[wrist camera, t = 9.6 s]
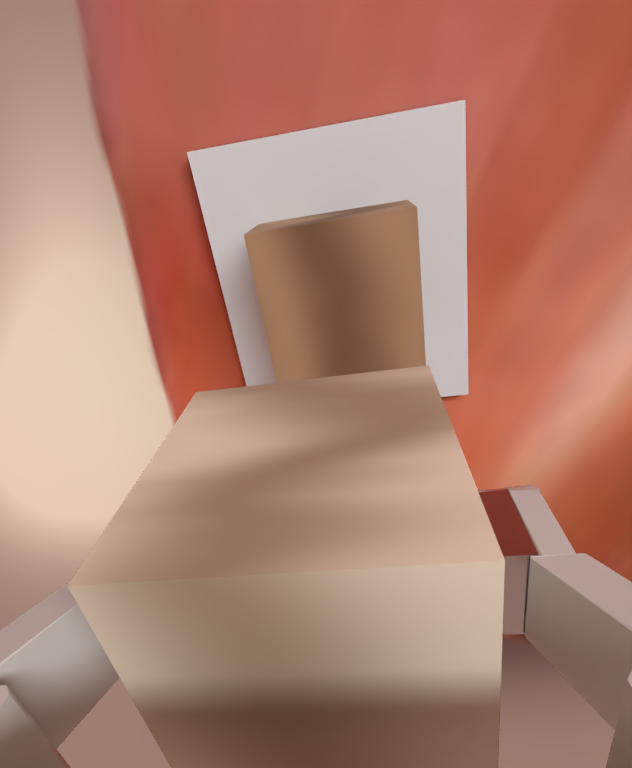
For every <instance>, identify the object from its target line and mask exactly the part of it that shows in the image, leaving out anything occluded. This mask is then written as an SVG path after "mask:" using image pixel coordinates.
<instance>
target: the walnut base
mask: <svg viewBox="0 0 632 768" xmlns="http://www.w3.org/2000/svg"><path fill="white" fill-rule="evenodd" d="M244 239H245V243H246V248H247V252H248V257H249V261H250V266H251V270H252V275H253V279H254V284H255V288H256V293H257V297H258V302H259V306H260V311H261V315H262V320H263V324H264V329H265V334H266V338H267V343H268V347H269V352H270V356H271V361H272V365H273V370H274V374H275V379H276V383H281V382H289V381H298V380H306V379H315V378H324V377H332V376H341V375H349V374H358V373H367V372H375V371H384V370H393V369H401V368H410V367H418V366H426V356H425V338H424V321H423V303H422V285H421V267H420V249H419V231H418V213H417V207H416V206H415V205H414V204H412V203H411V202H410V201H408V200H402V201H396V202H390V203H384V204H377V205H371V206H365V207H359V208H353V209H347V210H341V211H334V212H328V213H322V214H316V215H310V216H304V217H298V218H291V219H285V220H279V221H273V222H267V223H261V224H258V225H257V226H255V227H254V228H253V229H251V230H250V231H248V232H247V233H246V234H244Z"/></svg>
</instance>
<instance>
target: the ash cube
mask: <svg viewBox="0 0 632 768" xmlns="http://www.w3.org/2000/svg"><path fill="white" fill-rule="evenodd" d="M504 574H505V559H504V556H503V554H502V551H501V549H500V546H499V544H498V541H497V539H496V536H495V533H494V531H493V528H492V526H491V523H490V521H489V518H488V516H487V513H486V510H485V508H484V505H483V503H482V500H481V498H480V495H479V493H478V490H477V487H476V485H475V482H474V480H473V477H472V475H471V472H470V470H469V467H468V464H467V462H466V459H465V457H464V454H463V452H462V449H461V447H460V444H459V441H458V439H457V436H456V434H455V431H454V429H453V426H452V424H451V421H450V418H449V416H448V413H447V411H446V408H445V406H444V403H443V401H442V398H441V395H440V393H439V390H438V388H437V385H436V383H435V380H434V378H433V375H432V372H431V370H430V367H429V365H427V366H418V367H410V368H401V369H393V370H384V371H375V372H367V373H358V374H349V375H341V376H332V377H324V378H315V379H306V380H298V381H289V382H281V383H272V384H263V385H255V386H246V387H237V388H229V389H220V390H212V391H203V392H196V393H195V395H194V396H193V398H192V399H191V401H190V402H189V404H188V405H187V407H186V408H185V410H184V411H183V413H182V414H181V416H180V417H179V419H178V420H177V422H176V423H175V425H174V426H173V428H172V429H171V431H170V432H169V434H168V435H167V437H166V438H165V440H164V441H163V443H162V445H161V446H160V448H159V449H158V451H157V452H156V454H155V455H154V457H153V458H152V460H151V461H150V463H149V464H148V466H147V467H146V469H145V470H144V472H143V473H142V475H141V476H140V478H139V479H138V481H137V482H136V484H135V485H134V487H133V488H132V490H131V491H130V493H129V494H128V496H127V497H126V499H125V500H124V502H123V503H122V505H121V506H120V508H119V509H118V511H117V512H116V514H115V515H114V517H113V519H112V520H111V521H110V523H109V524H108V526H107V527H106V529H105V531H104V532H103V533H102V535H101V536H100V538H99V540H98V541H97V542H96V544H95V545H94V547H93V548H92V550H91V551H90V553H89V554H88V556H87V557H86V559H85V560H84V562H83V564H82V565H81V566H80V568H79V569H78V571H77V572H76V574H75V575H74V577H73V578H72V580H71V582H70V583H69V584H68V588H69V590H70V592H71V593H72V595H73V597H74V599H75V600H76V602H77V604H78V606H79V607H80V609H81V611H82V613H83V614H84V616H85V618H86V620H87V621H88V623H89V625H90V627H91V628H92V630H93V632H94V634H95V635H96V637H97V639H98V641H99V642H100V644H101V646H102V647H103V649H104V651H105V653H106V654H107V656H108V658H109V660H110V661H111V663H112V665H113V667H114V668H115V670H116V672H117V674H118V675H119V677H120V679H121V681H122V682H123V684H124V686H125V688H126V689H127V691H128V693H129V695H130V696H131V698H132V700H133V702H134V703H135V705H136V707H137V709H138V710H139V712H140V714H141V716H142V717H143V719H144V721H145V722H146V724H147V726H148V728H149V729H150V731H151V733H152V735H153V737H154V738H155V740H156V742H157V744H158V745H159V747H160V749H161V750H162V752H163V754H164V756H165V758H166V759H167V761H168V763H169V764H170V766H171V768H498V753H499V723H500V693H501V664H502V634H503V604H504Z"/></svg>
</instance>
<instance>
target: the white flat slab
mask: <svg viewBox="0 0 632 768" xmlns="http://www.w3.org/2000/svg"><path fill="white" fill-rule="evenodd" d="M187 155H188V159H189V163H190V166H191V170H192V174H193V178H194V182H195V186H196V190H197V194H198V198H199V202H200V206H201V210H202V214H203V217H204V221H205V225H206V229H207V233H208V237H209V241H210V245H211V249H212V253H213V257H214V261H215V265H216V268H217V272H218V276H219V280H220V284H221V288H222V292H223V296H224V300H225V304H226V308H227V312H228V316H229V319H230V323H231V327H232V331H233V335H234V339H235V343H236V347H237V351H238V355H239V359H240V363H241V367H242V370H243V374H244V378H245V382H246V386H255V385H263V384H272V383H276V379H275V374H274V370H273V365H272V361H271V356H270V352H269V347H268V343H267V338H266V334H265V329H264V324H263V320H262V315H261V311H260V306H259V302H258V297H257V293H256V288H255V284H254V279H253V275H252V270H251V266H250V261H249V257H248V252H247V248H246V243H245V239H244V234H246V233H247V232H248V231H250V230H251V229H253V228H254V227H255V226H257V225H258V224H261V223H267V222H273V221H279V220H285V219H291V218H298V217H304V216H310V215H316V214H322V213H328V212H334V211H341V210H347V209H353V208H359V207H365V206H371V205H377V204H384V203H390V202H396V201H402V200H408V201H410V202H411V203H412V204H414V205H415V206H416V207H417V213H418V231H419V249H420V267H421V285H422V303H423V321H424V338H425V356H426V366H427V365H429V367H430V370H431V372H432V375H433V378H434V380H435V383H436V385H437V388H438V390H439V393H440V395H441V397H447V396H457V395H466V394H468V317H467V221H466V126H465V100H461V101H456V102H450V103H445V104H440V105H434V106H429V107H424V108H419V109H413V110H408V111H403V112H397V113H392V114H387V115H381V116H376V117H371V118H366V119H360V120H355V121H350V122H344V123H339V124H334V125H329V126H323V127H318V128H313V129H307V130H302V131H297V132H292V133H286V134H281V135H276V136H270V137H265V138H260V139H255V140H249V141H244V142H239V143H233V144H228V145H223V146H218V147H212V148H207V149H202V150H196V151H191V152H187Z"/></svg>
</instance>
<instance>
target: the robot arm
mask: <svg viewBox="0 0 632 768" xmlns="http://www.w3.org/2000/svg"><path fill="white" fill-rule="evenodd" d="M478 493H479V495H480V498H481V500H482V503H483V505H484V508H485V510H486V513H487V516H488V518H489V521H490V523H491V526H492V528H493V531H494V533H495V536H496V539H497V541H498V544H499V546H500V549H501V551H502V554H503V556H504V559H505V574H504V604H503V634H525V638H526V639H527V640H528V641H529V642H530V643H531V644H532V645H533V646H534V647H535V648H536V649H537V650H538V651H539V652H540V653H541V654H542V655H543V656H544V657H545V658H546V659H547V661H548V662H549V663H550V664H551V665H552V666H553V667H554V668H555V669H556V670H557V671H558V672H559V673H560V674H561V675H562V676H563V677H564V678H565V679H566V680H567V681H568V682H569V683H570V684H571V685H572V687H574V689H575V690H576V691H577V692H578V693H579V694H580V695H581V696H582V697H583V698H584V699H585V700H586V701H587V702H588V703H589V704H590V705H591V706H592V707H593V708H594V709H595V710H596V711H597V712H598V714H599V715H600V716H601V717H602V718H603V719H604V720H605V721H606V722H607V723H608V724H609V725H610V726H611V727H612V728H613V729H614V730H615V733H614V737H613V741H612V745H611V749H610V753H609V757H608V761H607V765H606V768H632V582H631V581H629V580H628V579H626V578H624V577H623V576H621V575H620V574H618V573H616V572H615V571H613V570H612V569H610V568H608V567H607V566H605V565H604V564H602V563H601V562H599V561H597V560H596V559H594V558H593V557H591V556H589V555H588V554H586V553H577V554H576V553H575V551H574V549H573V547H572V546H571V544H570V542H569V541H568V539H567V537H566V535H565V534H564V532H563V530H562V529H561V527H560V525H559V523H558V522H557V520H556V518H555V517H554V515H553V513H552V511H551V510H550V508H549V506H548V505H547V503H546V501H545V500H544V498H543V496H542V494H541V493H540V491H539V489H538V488H537V487H536V486H534V485H526V486H516V487H506V488H505V489H503V488H500V489H489V490H478ZM68 584H69V583H66V584H64V585H63V586H61V587H60V588H59V589H57V590H56V591H55V592H53V593H52V594H50V595H49V596H47V597H46V598H45V599H43V600H42V601H41V602H39V603H38V604H36V605H35V606H34V607H32V608H31V609H29V610H28V611H27V612H25V613H24V614H22V615H21V616H20V617H18V618H17V619H16V620H14V621H13V622H11V623H10V624H9V625H7V626H6V627H4V628H3V629H2V630H0V768H70V766H69V765H68V764H67V762H66V761H65V760H64V758H63V757H62V756H61V754H60V753H59V752H58V751H57V748H58V746H59V745H60V744H61V743H62V742H63V741H64V740H65V738H66V737H67V736H68V735H69V734H70V733H71V732H72V731H73V729H74V728H75V727H76V726H77V725H78V724H79V723H80V722H81V720H82V719H83V718H84V717H85V716H86V715H87V713H89V711H90V710H91V709H92V708H93V707H94V706H95V705H96V703H97V702H98V701H99V700H100V699H101V698H102V697H103V695H104V694H105V693H106V692H107V691H108V690H109V689H110V688H111V686H112V685H113V684H114V683H115V682H116V681H117V680H118V678H119V675H118V674H117V672H116V670H115V668H114V667H113V665H112V663H111V661H110V660H109V658H108V656H107V654H106V653H105V651H104V649H103V647H102V646H101V644H100V642H99V641H98V639H97V637H96V635H95V634H94V632H93V630H92V628H91V627H90V625H89V623H88V621H87V620H86V618H85V616H84V614H83V613H82V611H81V609H80V607H79V606H78V604H77V602H76V600H75V599H74V597H73V595H72V593H71V592H70V590H69V588H68Z"/></svg>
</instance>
